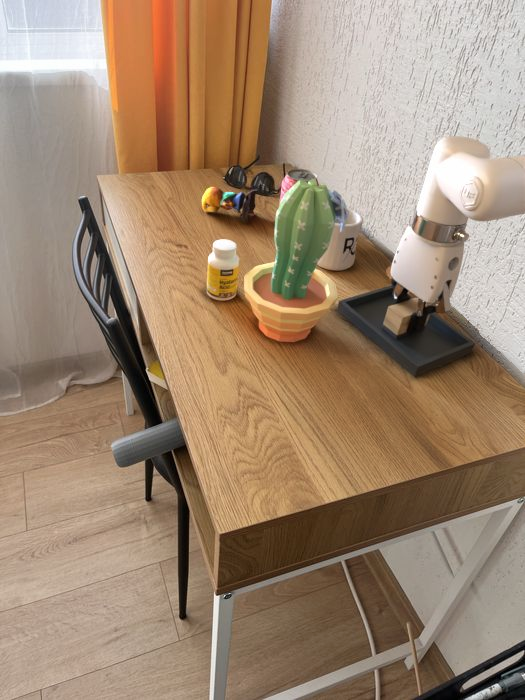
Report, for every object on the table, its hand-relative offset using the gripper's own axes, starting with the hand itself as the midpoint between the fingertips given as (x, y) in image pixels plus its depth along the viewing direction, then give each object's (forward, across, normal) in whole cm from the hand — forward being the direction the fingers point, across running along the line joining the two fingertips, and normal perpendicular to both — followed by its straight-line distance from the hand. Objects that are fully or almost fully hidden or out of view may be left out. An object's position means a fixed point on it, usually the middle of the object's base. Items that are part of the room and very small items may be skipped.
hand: (405, 323), depth 90 cm
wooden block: (+1, 0, 0) cm, 1 cm away
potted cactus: (+2, +10, +18) cm, 21 cm away
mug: (+2, +25, -5) cm, 26 cm away
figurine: (+2, +50, +6) cm, 51 cm away
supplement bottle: (+2, +23, +23) cm, 33 cm away
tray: (+2, 0, 0) cm, 2 cm away
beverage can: (+2, +40, -5) cm, 41 cm away
